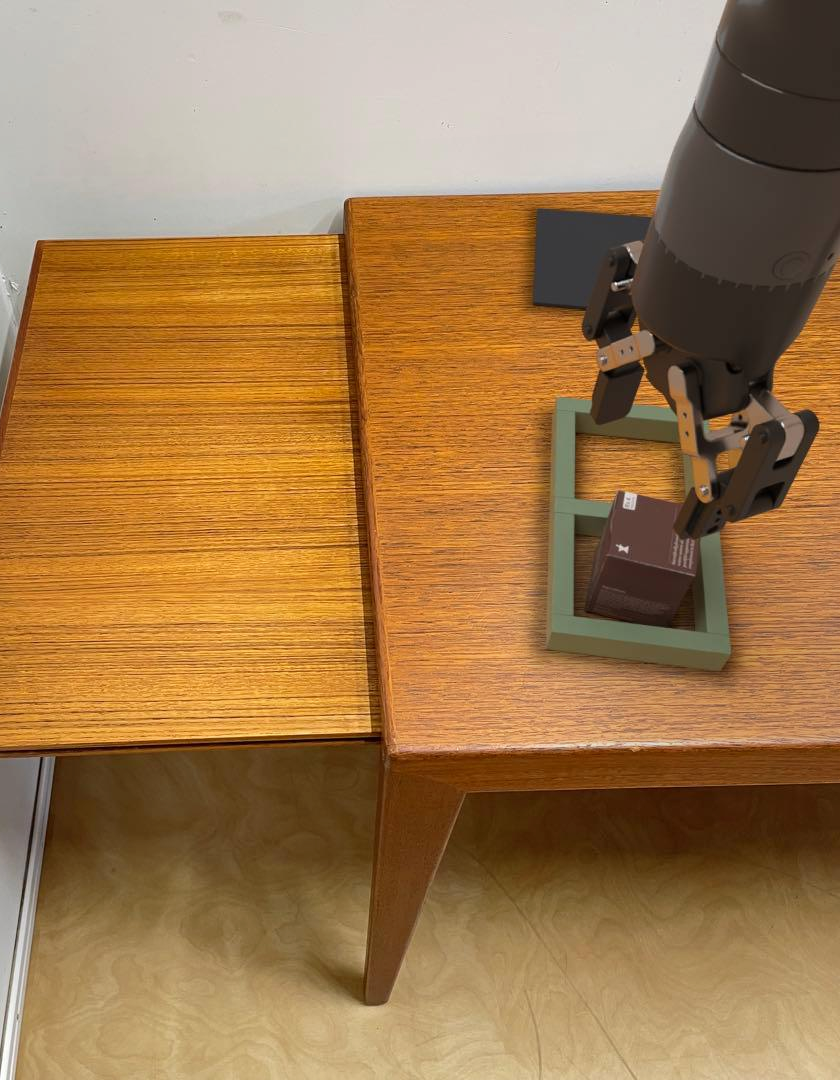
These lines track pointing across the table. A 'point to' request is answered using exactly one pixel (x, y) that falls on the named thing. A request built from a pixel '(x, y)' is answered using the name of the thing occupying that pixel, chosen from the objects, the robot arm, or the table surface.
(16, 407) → the table surface
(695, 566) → the box
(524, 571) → the table surface
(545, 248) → the mat
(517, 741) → the table surface
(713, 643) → the rack
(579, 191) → the table surface
